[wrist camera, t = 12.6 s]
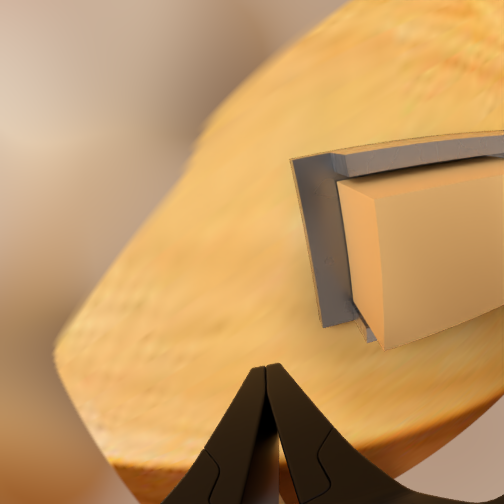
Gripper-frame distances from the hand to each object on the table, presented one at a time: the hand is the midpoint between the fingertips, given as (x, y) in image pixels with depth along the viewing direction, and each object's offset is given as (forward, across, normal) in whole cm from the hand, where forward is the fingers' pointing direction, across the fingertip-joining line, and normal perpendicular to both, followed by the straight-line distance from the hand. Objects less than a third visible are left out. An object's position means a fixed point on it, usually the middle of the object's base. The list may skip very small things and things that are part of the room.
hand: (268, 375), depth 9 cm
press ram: (+9, -10, 0) cm, 13 cm away
